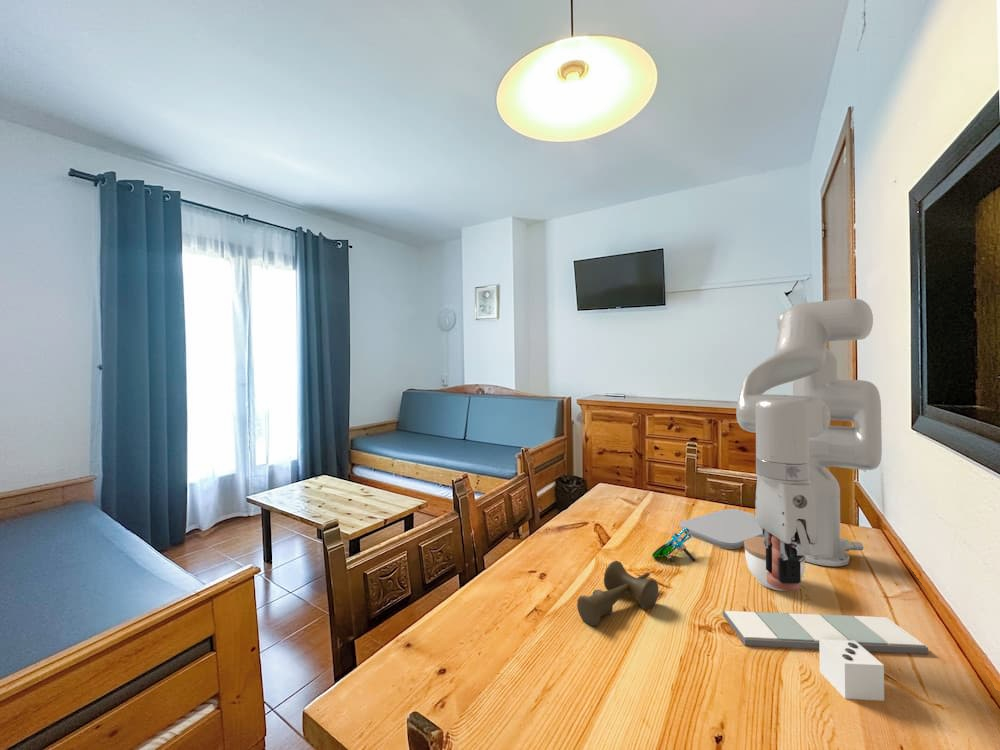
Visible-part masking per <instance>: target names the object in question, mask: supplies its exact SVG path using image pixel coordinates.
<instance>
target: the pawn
mask: <svg viewBox="0 0 1000 750" xmlns="http://www.w3.org/2000/svg"><path fill="white" fill-rule="evenodd" d="M791 540H793V539H792V538H791ZM771 542H772V572H767V583H768V584H770V585H771V586H773V587H775V588H777V589H780V590H784V591H783V592H798V591H800V583H781V582H780V581H779V580H778V558H781V551H780V540H779V539H778V538H777V537H775V536H774V535H773V536H772V538H771ZM793 547H794V545H788V550H789V549H790V548H793Z"/></svg>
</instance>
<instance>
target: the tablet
mask: <svg viewBox="0 0 1000 750" xmlns="http://www.w3.org/2000/svg"><path fill="white" fill-rule="evenodd" d="M679 527H680V528H681V529H682V531H683V530H684V529H685V528H687V529H688V530H689V532H688V531H687V530H686V532H687V533H688V534H689V535H690V536H691V537H694V538H697V539H699V540H702V541H705V542H706V543H709V544H711V545H714V546H716V547H719V548H721V549H726V550H736V549H738V548H741V547H744V541H745V540H746V539H748V538H751V537H764V534H763V531H762V529H761V527H760V526H759V524H758V523H757V521H756V513H755V514H754V513H752V512H748V511H745V510H741V509H738V508H724V509H720V510H718V511H714V512H710V513H706V514H703V515H699V516H697V517H693V518H689V519H685V520H682V521H680V522H679ZM683 534H686V533H685V532H684V533H683Z"/></svg>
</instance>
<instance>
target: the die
mask: <svg viewBox="0 0 1000 750" xmlns="http://www.w3.org/2000/svg"><path fill="white" fill-rule="evenodd" d="M818 650H819V673H821V675H822V676H824V678H825V679H826V680H827V681H828V683H830V684H831V685H832V686H833V688H834V689H836V690H837V692H838V693H839V694H840V695H841V696H842V697H843V698H844V699H848V700H851V699H852V700H864V701H865V700H866V701H883V702H884V701H885V665H884V663H882V662H881V661H879V659H877V658H876V657H875V656H874V655H873V654H872V653H870V651H867V650H866V649H864V648H863V647H862V646H861V645H860V644H859V643H857V642H856V641H854V640H829V639H819V649H818Z"/></svg>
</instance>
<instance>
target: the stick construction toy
mask: <svg viewBox="0 0 1000 750" xmlns="http://www.w3.org/2000/svg"><path fill="white" fill-rule="evenodd" d="M686 530H687V531H688V532H689V530H688V529H687V528H685V529H684V530H683V529H682V531H681V532H679V533H676V532H674V534H673V535H672V536H671V540H669V541H667V542H666V543H664V544H663V545H661V546H660V547H658V548H657V549H655V551H654V552H653V553H652V555H651V556H652V558H654V559H655V558H657V557H662V558H663V557H664V556H665V557H666V558H667V559H668V560H669V561H670V562H671V563H673V562H674V558H673V557H672V555H671V554H672V553H673V552H674V551H676V550H678V551H681V552H683V553H685V555H687V557H689V559H690V560H691V561H692V562H696V561H697V559H696V558H695V557H694V555H692V554H691V552H690V551H689V550H688V549H687V547H686V545H685V544H684V543H686V542H687V541H689V540H690V539H692V537H693V536H691V535H689V534H688V533H687V532H686ZM684 532H685V533H684ZM684 534H685V535H684ZM682 535H684V536H683V537H682ZM679 540H680V541H679Z"/></svg>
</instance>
